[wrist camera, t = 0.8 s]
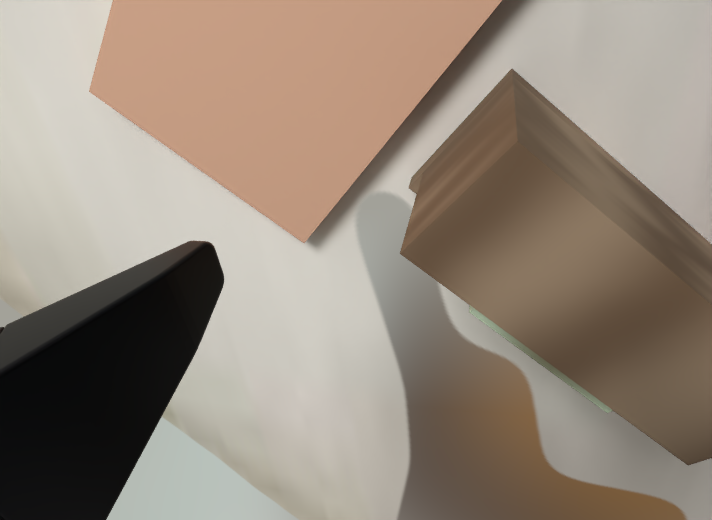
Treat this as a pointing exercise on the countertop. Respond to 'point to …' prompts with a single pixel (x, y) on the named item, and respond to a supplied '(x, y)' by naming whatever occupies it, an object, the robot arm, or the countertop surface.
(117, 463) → the robot arm
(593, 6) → the countertop surface
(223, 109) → the green and salmon panel
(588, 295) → the brown wooden block
